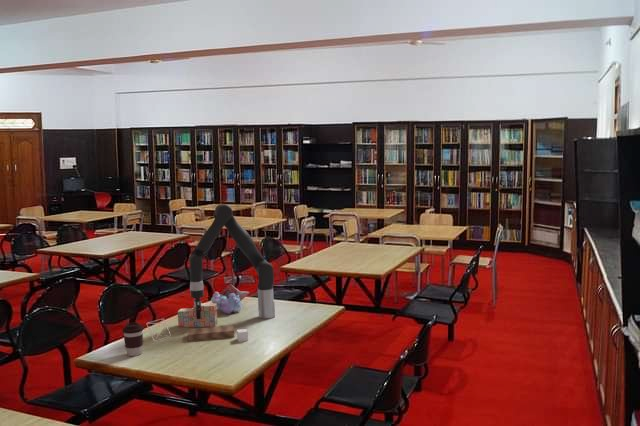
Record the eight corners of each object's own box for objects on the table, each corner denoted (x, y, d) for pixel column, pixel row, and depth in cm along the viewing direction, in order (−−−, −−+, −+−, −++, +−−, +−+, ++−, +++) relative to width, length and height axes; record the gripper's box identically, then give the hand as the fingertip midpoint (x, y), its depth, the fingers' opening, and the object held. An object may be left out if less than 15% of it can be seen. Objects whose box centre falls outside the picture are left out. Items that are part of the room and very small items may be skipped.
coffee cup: (128, 350, 290) (126, 321, 288) (147, 350, 290) (145, 321, 288) (120, 357, 280) (118, 327, 278) (140, 357, 280) (139, 327, 278)
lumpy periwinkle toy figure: (207, 308, 348) (221, 283, 347) (208, 298, 369) (222, 274, 368) (236, 323, 352) (250, 298, 351) (236, 312, 373) (250, 289, 372)
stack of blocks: (178, 327, 327) (177, 306, 326) (181, 324, 333) (180, 303, 332) (215, 326, 326) (214, 305, 325) (217, 323, 332) (216, 302, 331)
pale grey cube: (246, 338, 305) (246, 328, 304) (248, 340, 300) (247, 331, 300) (237, 339, 304) (236, 329, 303) (238, 341, 299) (238, 332, 298)
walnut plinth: (233, 332, 316) (233, 325, 316) (234, 338, 307) (234, 330, 306) (188, 336, 312) (188, 329, 312) (188, 342, 302) (188, 334, 302)
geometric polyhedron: (143, 338, 309) (142, 322, 308) (161, 333, 318) (160, 317, 317) (157, 342, 301) (156, 326, 300) (174, 337, 310) (173, 320, 309)
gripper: (204, 290, 322) (206, 319, 323) (202, 285, 335) (203, 313, 337) (190, 292, 320) (192, 320, 321) (189, 286, 333) (190, 314, 335)
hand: (198, 316), depth 329 cm, fingers closed on stack of blocks, 7 cm apart
